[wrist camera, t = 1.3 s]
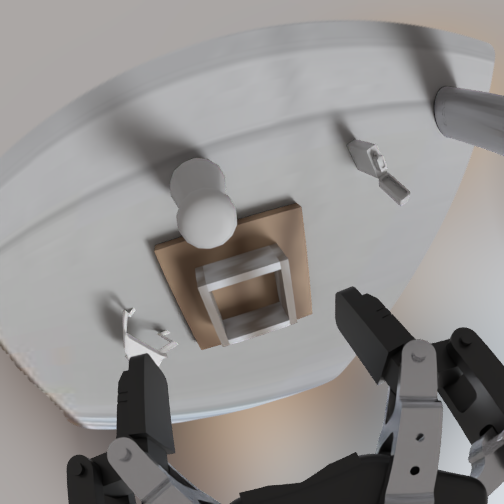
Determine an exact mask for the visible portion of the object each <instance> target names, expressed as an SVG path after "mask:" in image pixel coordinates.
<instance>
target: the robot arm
mask: <svg viewBox="0 0 504 504" xmlns="http://www.w3.org/2000/svg"><path fill="white" fill-rule="evenodd" d="M434 107H435V118H436V122H437V125H438V128H439V129H440V131H441V132H442V134H443V135H445V136H446V137H449V138H452V139H456V140H459V141H462V142H465V143H468V144H472V145H475V146H478V147H481V148H484V149H486V150H489V151H492V152H495V153H497V154H500V155H503V156H504V96H502V95H497V94H492V93H487V92H482V91H476V90H469V89H463V88H454V87H443V88H441V89H440V90H439V91H438V93H437V95H436V99H435V106H434ZM335 319H336V324H337V326H338V329H339V330H340V332H341V333H342V335H343V336H344V338H345V339H346V340H347V342H348V343H349V345H350V346H351V347H352V349H353V350H354V352H355V353H356V355H357V356H358V358H359V359H360V360H361V362H362V363H363V365H364V366H365V368H366V369H367V370H368V372H369V373H370V375H371V376H372V378H373V379H374V381H375V382H376V383H377V385H380V384H381V383H383V382H385V381H386V382H387V384H388V385H389V387H388V394H387V402H386V409H385V416H384V422H383V427H382V431H381V433H380V437H379V440H378V444H377V448H376V453H375V454H367V455H360V456H358V455H357V453H356V452H355V453H353V454H351V455H349V456H347V457H345V458H342V459H340V460H338V461H336V462H334V463H331V464H329V465H327V466H326V467H325V468H323V469H322V470H320V471H319V472H317V473H316V474H314V475H313V476H311V477H310V478H308V479H307V480H305V481H303V482H301V483H295V484H284V485H272V486H265V487H262V488H258V489H254V490H250V491H245V492H241V493H239V494H240V498H238V499H236V500H234V501H233V502H231V503H230V504H487V502H488V496H489V495H490V494H491V493H492V492H493V491H494V490H495V489H496V488H498V487H499V486H500V485H501V484H502V482H504V366H503V365H502V363H501V362H500V361H499V360H498V359H497V357H496V356H495V355H494V353H493V352H492V351H491V350H490V349H489V348H488V346H487V345H486V344H485V343H484V342H483V341H482V339H481V338H480V337H479V336H478V335H477V334H476V333H475V332H474V331H473V330H471V329H469V328H458V329H456V330H455V331H454V332H453V334H452V336H451V338H450V339H448V340H445V341H440V342H437V343H432V344H430V343H429V342H427V341H425V340H421V339H415V338H414V337H413V336H412V335H411V334H410V333H409V332H408V331H407V330H406V329H405V327H404V326H403V325H402V324H401V323H400V322H399V321H398V320H397V319H396V318H395V317H394V316H393V315H392V314H391V312H390V311H389V310H388V309H387V308H385V306H384V305H383V304H382V303H381V302H380V301H379V300H378V299H377V298H375V297H373V296H371V295H369V294H364V295H361V293H360V292H359V291H358V290H357V289H356V288H355V287H349V288H347V289H345V290H342V291H340V292H337V293H336V297H335ZM437 391H438V393H439V394H440V396H441V397H442V399H443V400H444V402H445V403H446V405H447V406H448V408H449V409H450V411H451V412H452V414H453V416H454V417H455V419H456V420H457V422H458V423H459V425H460V426H461V428H462V430H463V431H464V433H465V435H466V437H467V438H468V440H469V441H470V443H471V445H472V446H471V448H470V452H469V457H468V460H469V462H470V463H471V465H472V470H471V474H470V476H466V475H460V474H455V473H450V472H446V471H441V470H437V469H438V462H439V454H440V446H441V434H442V418H443V407H442V406H443V405H442V402H441V401H438V399H437ZM117 402H118V404H117V437H116V440H114V441H113V442H112V443H111V444H110V445H109V447H108V450H107V452H106V453H103V454H101V455H99V456H96V457H94V458H91V459H89V458H87V457H85V456H83V455H76V456H73V457H72V458H71V459H70V460H69V462H68V464H67V488H68V500H69V504H136V501H135V496H134V493H135V495H136V496H137V497H138V498H139V499H140V500H141V502H142V504H221V503H219V502H218V501H216V500H215V499H214V498H212V497H211V496H209V495H207V494H205V493H204V492H202V491H201V490H199V489H198V488H197V487H196V486H194V485H193V484H192V483H191V482H189V481H188V480H187V479H186V478H185V477H184V476H183V475H181V474H180V473H179V472H178V471H177V470H175V468H174V467H172V466H171V465H170V464H169V463H168V461H167V454H173V453H175V448H174V441H173V433H172V425H171V416H170V406H169V396H168V385H167V381H166V378H165V376H164V374H163V373H162V371H161V370H160V369H159V367H158V366H157V365H156V363H155V362H154V360H153V359H152V358H151V356H150V355H149V354H148V353H145V354H141V355H137V356H132V357H130V359H129V370H128V371H123V373H122V376H121V378H120V380H119V382H118V400H117Z"/></svg>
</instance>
